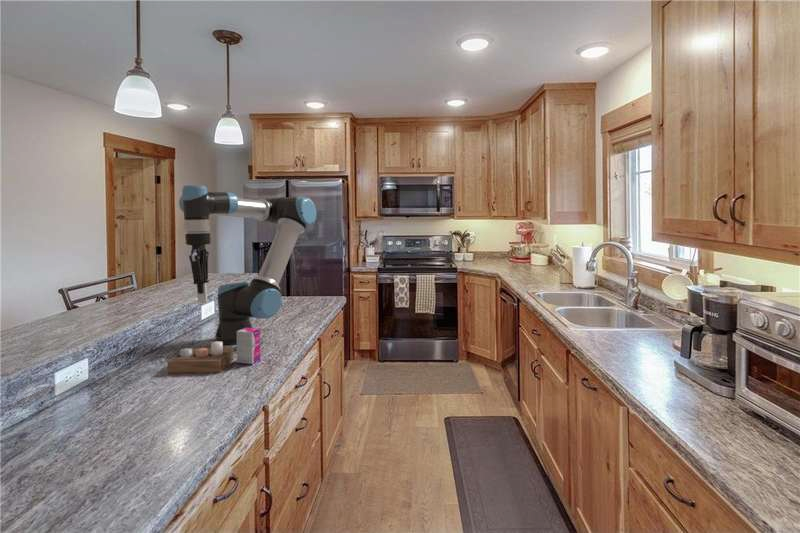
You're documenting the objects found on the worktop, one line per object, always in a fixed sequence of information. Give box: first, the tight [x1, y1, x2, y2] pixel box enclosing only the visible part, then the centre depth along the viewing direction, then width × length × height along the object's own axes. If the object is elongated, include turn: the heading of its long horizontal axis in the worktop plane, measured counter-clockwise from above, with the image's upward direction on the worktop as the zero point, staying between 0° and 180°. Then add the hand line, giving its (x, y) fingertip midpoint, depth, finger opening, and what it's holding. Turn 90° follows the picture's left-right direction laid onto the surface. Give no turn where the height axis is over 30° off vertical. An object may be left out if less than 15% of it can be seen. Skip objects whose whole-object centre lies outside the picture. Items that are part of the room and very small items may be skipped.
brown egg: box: [195, 347, 209, 357], centre depth 151 cm, size 4×4×5 cm
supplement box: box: [236, 327, 261, 366], centre depth 155 cm, size 6×6×12 cm
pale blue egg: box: [179, 347, 193, 357], centre depth 151 cm, size 4×4×5 cm
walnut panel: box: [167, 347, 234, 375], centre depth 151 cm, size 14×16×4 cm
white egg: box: [210, 341, 224, 356], centre depth 151 cm, size 4×4×5 cm
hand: (202, 302), depth 154 cm, fingers closed
